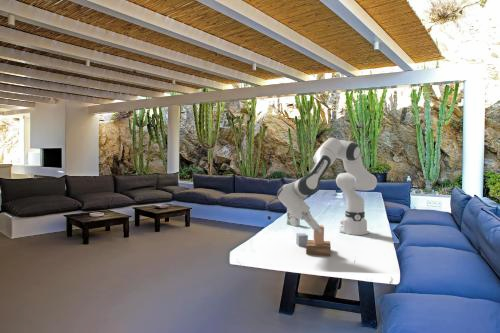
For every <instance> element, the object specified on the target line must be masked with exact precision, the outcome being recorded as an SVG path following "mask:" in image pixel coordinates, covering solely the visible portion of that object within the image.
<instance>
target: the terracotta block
mask: <svg viewBox="0 0 500 333" xmlns="http://www.w3.org/2000/svg"><path fill="white" fill-rule="evenodd" d="M319 227H320V229H321V230H322V232H321V233H319V232H318V231H317V230H316V229H315V230H313V240H314V244H322V245H324V241H325V227H324V225H323V224H322V225H321V224H319Z"/></svg>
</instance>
